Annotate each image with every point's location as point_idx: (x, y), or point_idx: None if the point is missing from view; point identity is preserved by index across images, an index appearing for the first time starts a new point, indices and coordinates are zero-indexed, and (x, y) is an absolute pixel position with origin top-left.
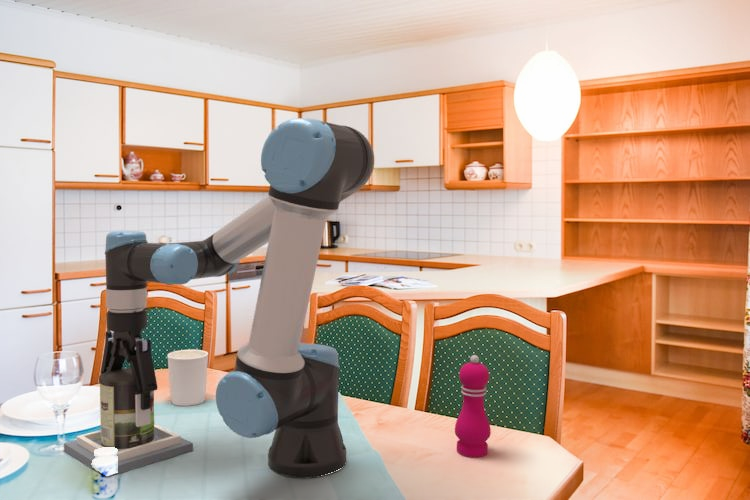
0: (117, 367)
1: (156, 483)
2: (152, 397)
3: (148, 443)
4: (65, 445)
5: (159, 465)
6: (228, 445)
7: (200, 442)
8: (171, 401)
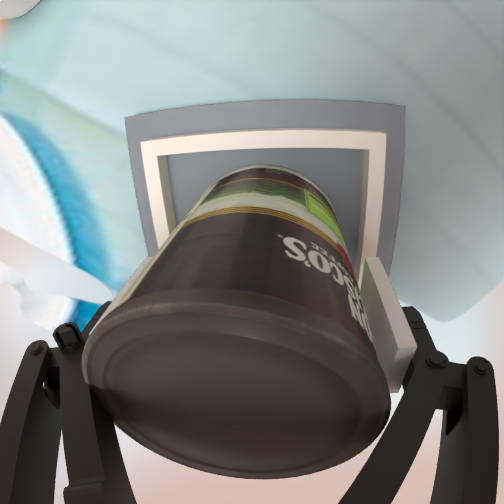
0: (103, 416)
1: (469, 273)
2: (343, 267)
3: (367, 237)
4: None
5: (413, 223)
6: (429, 23)
7: (357, 52)
8: (15, 17)
